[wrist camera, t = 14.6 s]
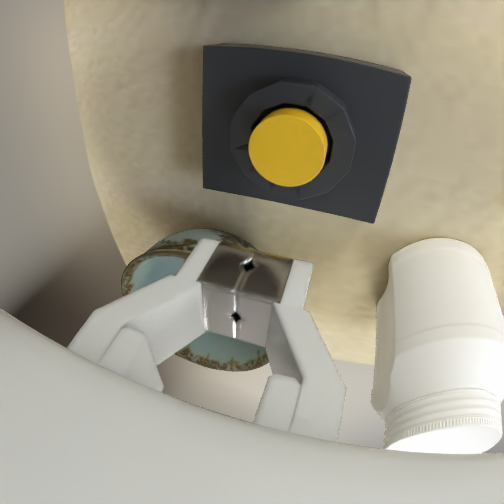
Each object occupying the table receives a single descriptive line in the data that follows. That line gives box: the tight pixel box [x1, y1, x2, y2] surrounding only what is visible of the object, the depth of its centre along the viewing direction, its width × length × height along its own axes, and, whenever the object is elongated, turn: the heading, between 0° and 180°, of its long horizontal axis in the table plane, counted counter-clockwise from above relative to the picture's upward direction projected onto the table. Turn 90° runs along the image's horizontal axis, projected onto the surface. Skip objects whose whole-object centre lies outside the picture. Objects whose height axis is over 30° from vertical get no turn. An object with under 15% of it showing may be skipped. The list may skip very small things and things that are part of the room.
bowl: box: [121, 229, 269, 371], centre depth 28 cm, size 14×13×8 cm
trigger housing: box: [202, 43, 411, 224], centre depth 19 cm, size 12×10×5 cm
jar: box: [371, 238, 504, 454], centre depth 20 cm, size 12×10×15 cm
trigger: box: [249, 108, 328, 187], centre depth 17 cm, size 4×4×2 cm
